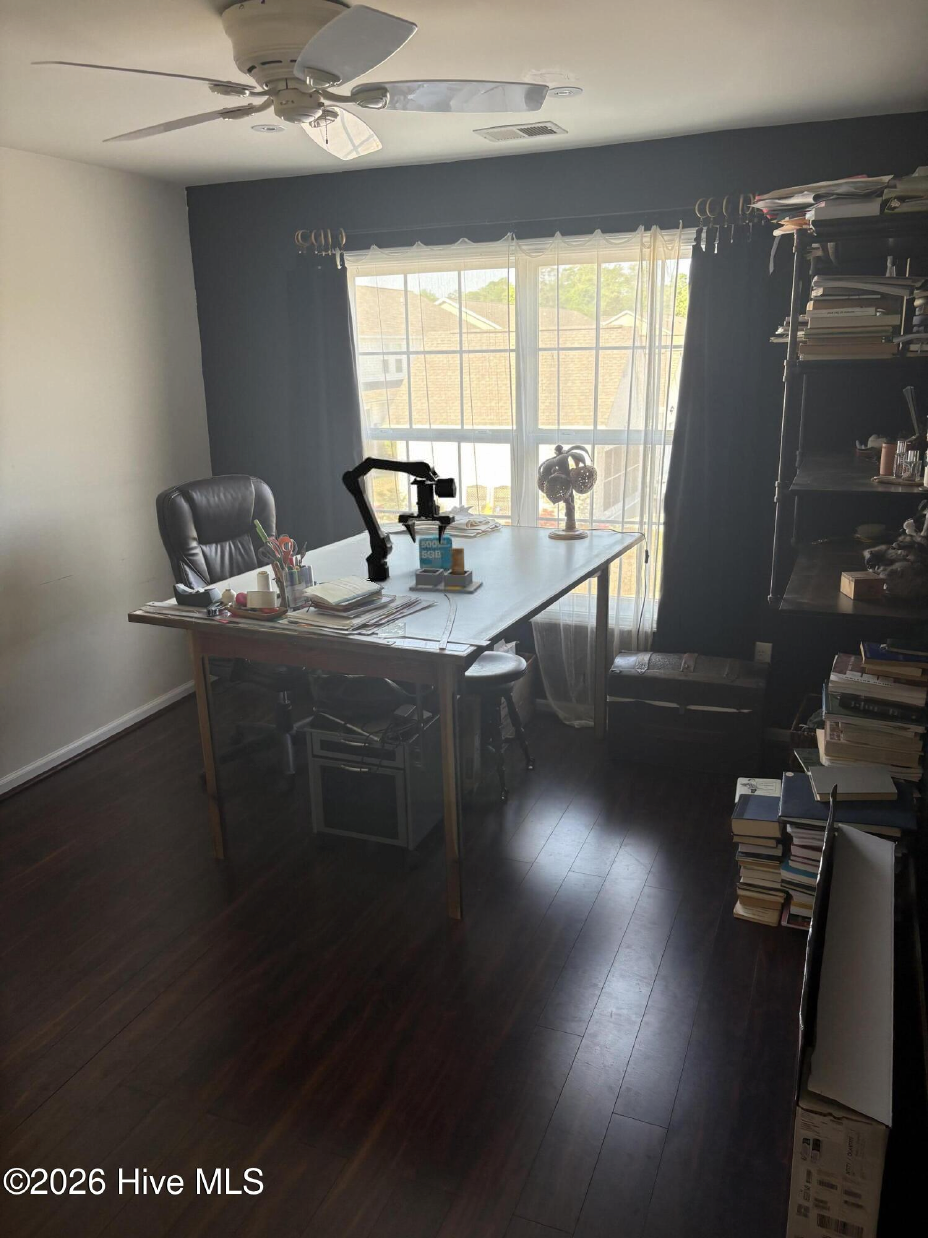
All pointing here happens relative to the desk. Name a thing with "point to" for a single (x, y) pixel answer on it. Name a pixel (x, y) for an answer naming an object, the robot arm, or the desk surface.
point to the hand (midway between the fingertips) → (427, 543)
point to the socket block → (444, 581)
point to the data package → (435, 552)
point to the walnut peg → (457, 561)
